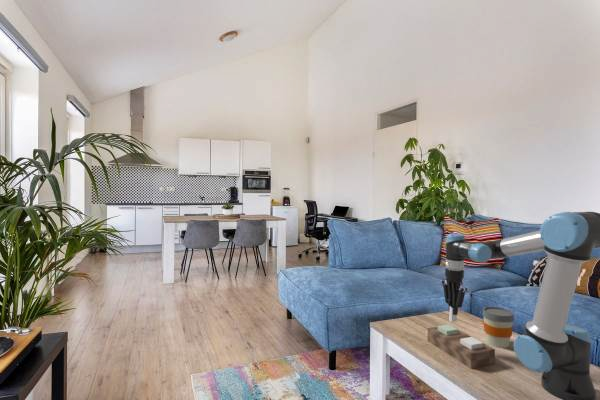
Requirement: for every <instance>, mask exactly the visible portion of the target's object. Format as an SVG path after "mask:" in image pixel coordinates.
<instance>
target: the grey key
mask: <svg viewBox="0 0 600 400" xmlns="http://www.w3.org/2000/svg"><path fill="white" fill-rule="evenodd" d="M460 343H461V344H462V345H464V346H466V347H467V348H469V349H471V350H473V349H478V348H483V343H484V342H482V341H480V340H479V339H476V338H475V337H473V336H470V337H468V338H462V339H460Z"/></svg>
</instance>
